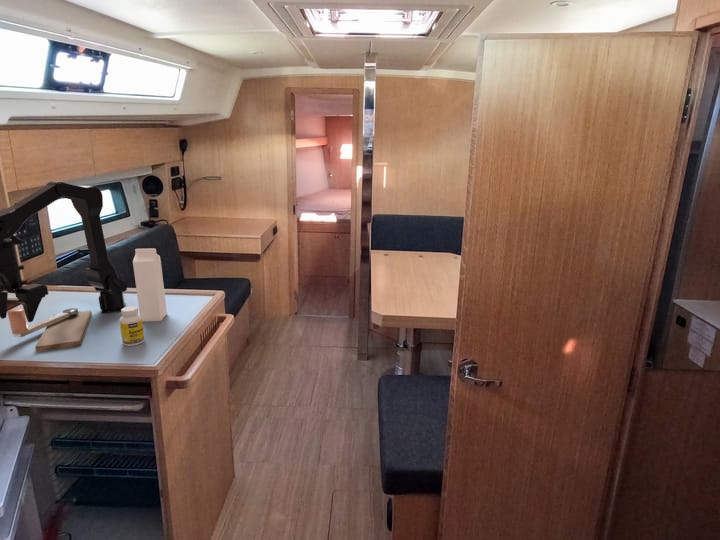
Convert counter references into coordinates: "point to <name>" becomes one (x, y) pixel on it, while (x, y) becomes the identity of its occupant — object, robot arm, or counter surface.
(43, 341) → the light wooden base
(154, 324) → the counter surface
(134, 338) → the supplement bottle
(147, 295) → the milk
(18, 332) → the lever
